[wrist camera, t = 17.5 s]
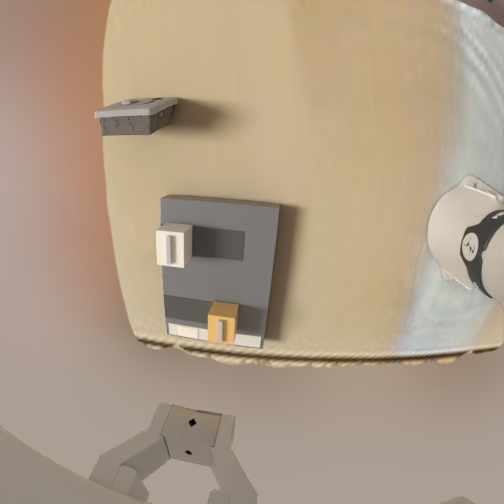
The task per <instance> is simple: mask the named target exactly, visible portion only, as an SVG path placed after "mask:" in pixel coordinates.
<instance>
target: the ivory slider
mask: <svg viewBox="0 0 504 504" xmlns="http://www.w3.org/2000/svg"><path fill="white" fill-rule="evenodd" d="M192 228H193V225H189V224H178V223H165V224H164V225H163V226H161V227H160V228H158V229H157V230H156V247H157V265H165V266H172V267H180V268H184V267H185V266H186V265H187V263H188V262H189V261H190V259H191V258H192Z"/></svg>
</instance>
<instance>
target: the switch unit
mask: <svg viewBox="0 0 504 504" xmlns="http://www.w3.org/2000/svg"><path fill="white" fill-rule="evenodd" d="M279 209H280V204H274V203H265V202H255V201H244V200H233V199H221V198H209V197H195V196H180V195H167V196H165V197H163V198H161V226H163V225H164V224H165V223H178V224H189V225H193V228H192V258H191V259H190V261H189V262H188V263H187V265H186V266H185V267H184V268H180V267H172V266H165V265H162V271H163V288H164V306H165V317H166V326H167V334H169V335H174V336H180V337H185V338H191V339H197V340H203V341H208V313H209V311H210V308H211V306H212V304H213V301H217V302H225V303H232V304H239V310H238V325H237V333H236V337H235V341H234V345H237V346H244V347H252V348H261V349H263V343H264V335H265V328H266V320H267V312H268V304H269V296H270V288H271V280H272V271H273V263H274V254H275V245H276V236H277V227H278V218H279ZM209 342H210V341H209ZM222 344H223V343H222ZM229 345H230V344H229Z"/></svg>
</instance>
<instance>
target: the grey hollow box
mask: <svg viewBox="0 0 504 504" xmlns="http://www.w3.org/2000/svg"><path fill="white" fill-rule="evenodd" d="M173 104H174V105H175V104H178V101H177V98H148V99H131V100H124V101H121V102H118V103H115V104H112V105H110V106H107V107H104V108H102V109H100V110H98V111H95V118H100V122H101V123H100V124H101V127H102V136H109V135H151V134H152V133H154V132H155V131H157V130H159V129H160V128H162V127H164V126H165V125H167V124H169V123H171V122H172V106H173ZM130 125H131V126H130ZM110 132H111V133H110Z"/></svg>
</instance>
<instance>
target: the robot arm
mask: <svg viewBox="0 0 504 504" xmlns="http://www.w3.org/2000/svg"><path fill="white" fill-rule="evenodd" d="M475 183H476V186H475ZM428 244H429V248H430V251H431V253H432V255H433V257H434V259H435V260H436V261H437V262H438V264H439V265H440V267H441V272H442V276H443V278H444V279H445V280H447V281H454V280H457V281H458V282H460V283H461V284H462V285H463V286H465V287H466V288H468V289H472V288H477V289H478V290H479V291H480V292H482V293H483V294H485V295H486V296H488V297H490V298H494V299H495V300H496V301H497V302H498V303H499V304H500V305H501V306H502V307H503V308H504V196H502V195H501V194H499V193H498V192H497V191H495V190H494V189H492V188H491V187H489V186H488V185H487V184H485V183H484V182H482V181H481V180H479V179H477V178H476V177H474V176H472V175H467V176H466V177H465V178H464V179H463V180H462V182H461V183H460V185H459V186H457V187H456V188H454V189H452V190H450V191H449V192H447V193H446V194H445V195H444V196H443V197H442V198H441V199H440V200H439V201H438V203H437V204H436V206H435V208H434V210H433V212H432V214H431V217H430V221H429V225H428ZM234 428H235V416H231V415H224V414H220V413H213V412H207V411H201V410H194V409H190V408H185V407H181V406H177V405H173V404H169V403H164V402H161V403H160V404H159V405H158V407H157V410H156V412H155V414H154V417H153V419H152V421H151V423H150V426H149V428H148V430H147V432H146V431H143V432H141V433H139V434H137V435H136V436H134V437H132V438H131V439H129V440H127V441H126V442H124V443H122V444H120V445H118V446H117V447H115V448H113V449H111V450H109V451H108V452H106V453H104V454H102V455H100V457H99V459H98V461H97V463H96V465H95V467H94V469H93V471H92V473H91V475H90V477H89V479H87V478H84V477H83V476H80V475H78V474H76V473H74V472H72V471H71V470H69V469H67V468H65V467H63V466H61V465H59V464H57V463H56V462H54V461H52V460H50V459H49V458H47V457H45V456H43V455H42V454H40V453H39V452H37V451H36V450H34V449H32V448H31V447H29V446H28V445H26V444H25V443H23V442H22V441H20V440H19V439H17V438H16V437H15V436H13V435H12V434H10V433H9V432H8V431H6V430H5V429H4V428H2V427H1V426H0V504H152V503H148V502H147V498H148V495H149V492H148V491H147V489H146V487H145V486H144V484H143V482H142V480H144V479H145V478H146V477H148V476H149V475H150V474H152V473H153V472H154V471H156V470H157V469H158V468H159V467H160V466H162V465H163V464H165V463H166V462H167V461H168V460H170V458H173V459H177V460H182V461H187V462H192V463H196V464H200V465H205V466H210V467H211V469H212V471H213V474H214V475H215V478H216V480H217V482H218V485H219V487H220V489H221V490H216V489H214V490H212V491H211V492H210V496H209V500H208V504H256V503H257V493H256V491H255V489H254V488H253V486H252V484H251V482H250V481H249V479H248V477H247V476H246V474H245V472H244V470H243V469H242V467H241V465H240V463H239V461H238V460H237V458H236V456H235V454H234V452H233V451H232V444H233V437H234ZM439 504H475V503H473V502H472V501H470V500H469V499H467V498H465V497H457V498H454V499H451V500H448V501H445V502H442V503H439Z"/></svg>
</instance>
